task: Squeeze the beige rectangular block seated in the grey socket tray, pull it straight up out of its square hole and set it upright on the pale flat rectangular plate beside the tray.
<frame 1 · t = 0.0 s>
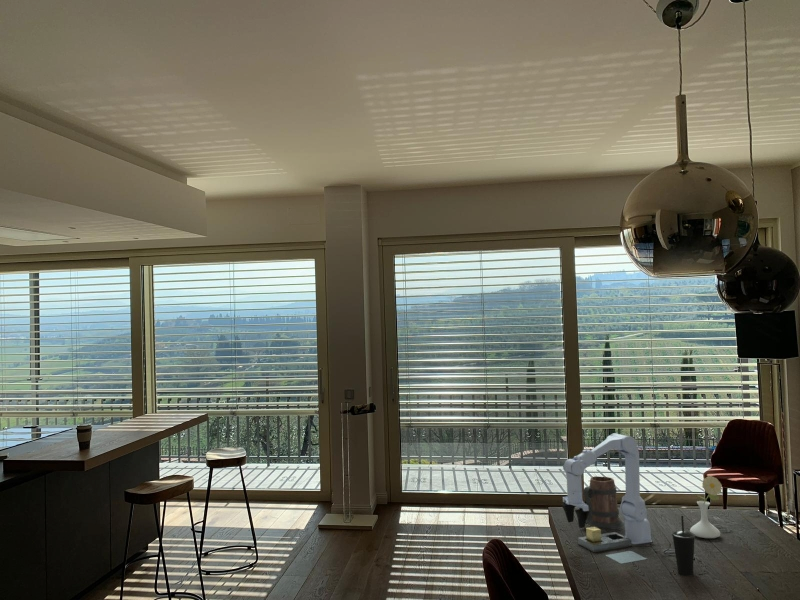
hand: (576, 524, 232), 10 cm above the table, tool pointing down, fingers open, 7 cm apart
tankard: (599, 525, 262), on the table
pale flat rectangular plate: (626, 558, 222), on the table
grey socket tray: (604, 546, 235), on the table
beige rectangular block: (594, 546, 234), resting on grey socket tray
flower in vase: (707, 536, 243), on the table
drinking cup: (685, 573, 207), on the table
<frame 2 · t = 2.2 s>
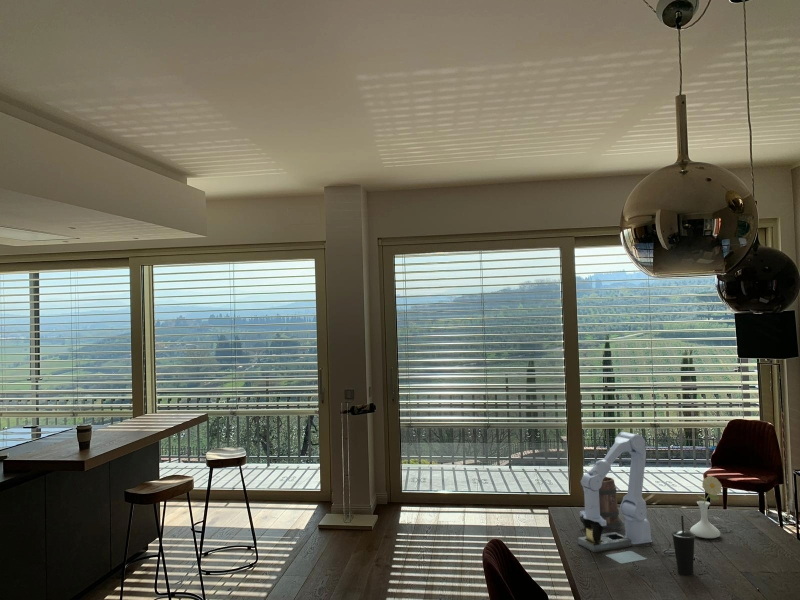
hand: (593, 539, 234), 3 cm above the table, tool pointing down, fingers closed on beige rectangular block, 4 cm apart
beige rectangular block: (594, 546, 234), resting on grey socket tray, touching gripper
everything else where it was.
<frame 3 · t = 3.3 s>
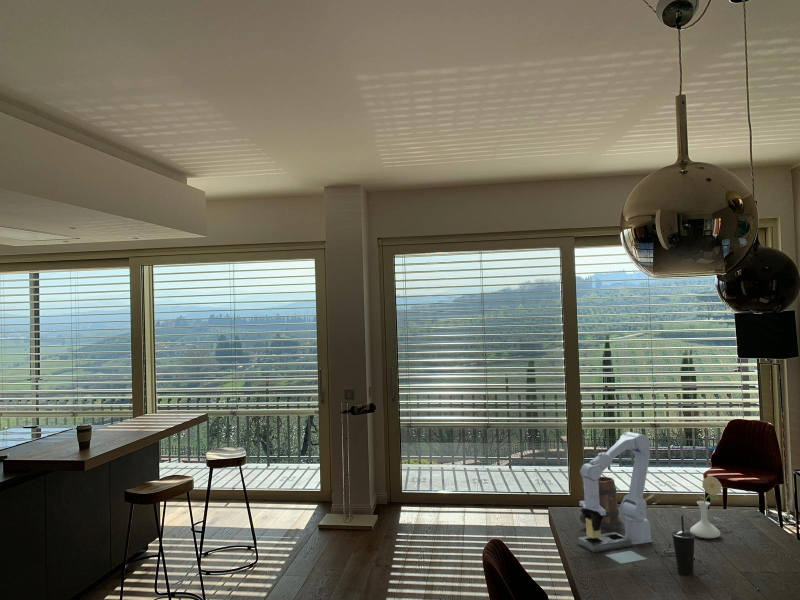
hand: (593, 528, 234), 8 cm above the table, tool pointing down, fingers closed on beige rectangular block, 4 cm apart
beige rectangular block: (593, 536, 234), point 5 cm above the table, touching gripper
everything else where it was.
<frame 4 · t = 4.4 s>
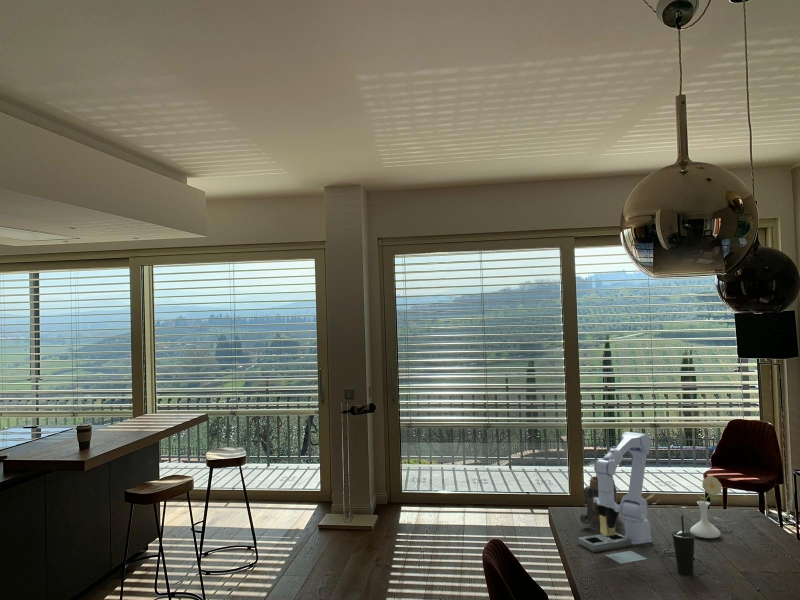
hand: (607, 525, 228), 10 cm above the table, tool pointing down, fingers closed on beige rectangular block, 4 cm apart
beige rectangular block: (607, 533, 228), point 7 cm above the table, touching gripper
everything else where it was.
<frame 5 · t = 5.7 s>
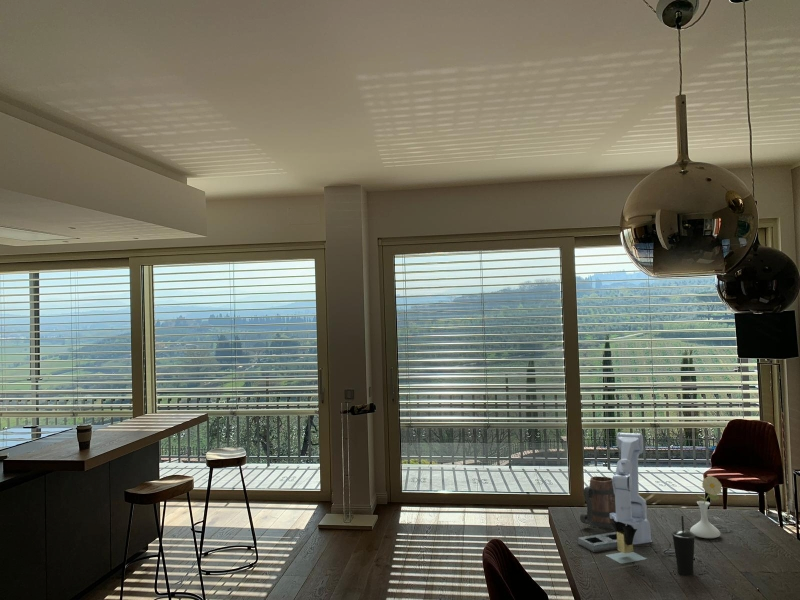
hand: (625, 542, 222), 6 cm above the table, tool pointing down, fingers closed on beige rectangular block, 4 cm apart
beige rectangular block: (625, 551, 222), point 3 cm above the table, touching gripper
everything else where it was.
when the fingers open (5 cm above the table, at t = 6.8 s): beige rectangular block drops 1 cm, resting on pale flat rectangular plate.
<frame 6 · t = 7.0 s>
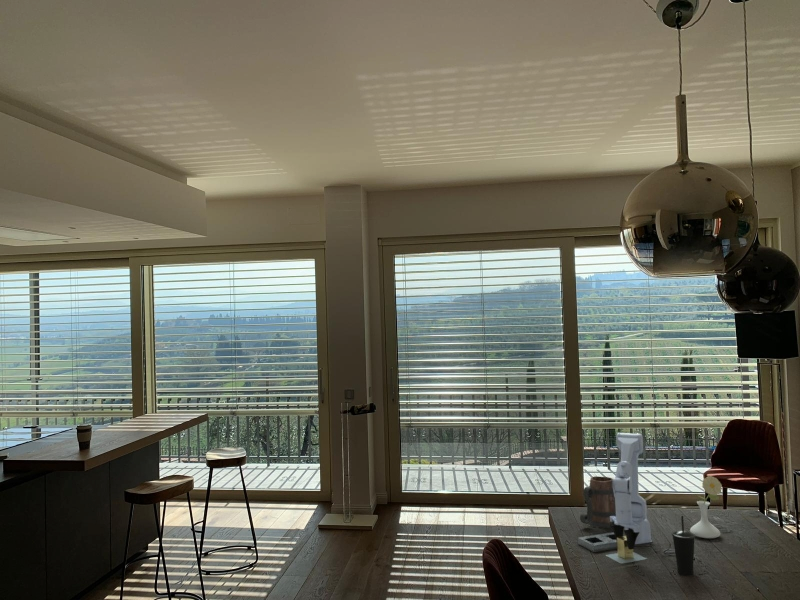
hand: (625, 545, 222), 5 cm above the table, tool pointing down, fingers open, 6 cm apart
beige rectangular block: (625, 556, 222), point 1 cm above the table, touching pale flat rectangular plate
everything else where it was.
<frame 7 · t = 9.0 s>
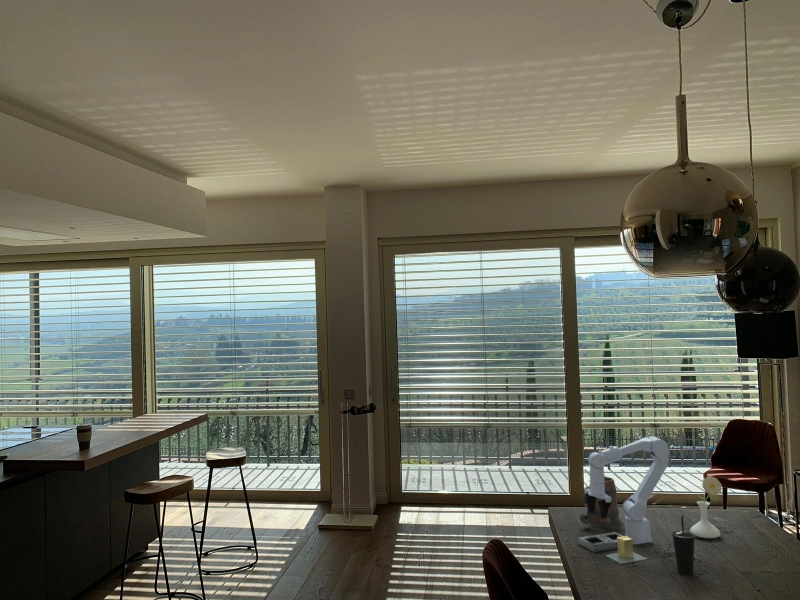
hand: (597, 515, 242), 10 cm above the table, tool pointing down, fingers open, 7 cm apart
nothing on the table moved.
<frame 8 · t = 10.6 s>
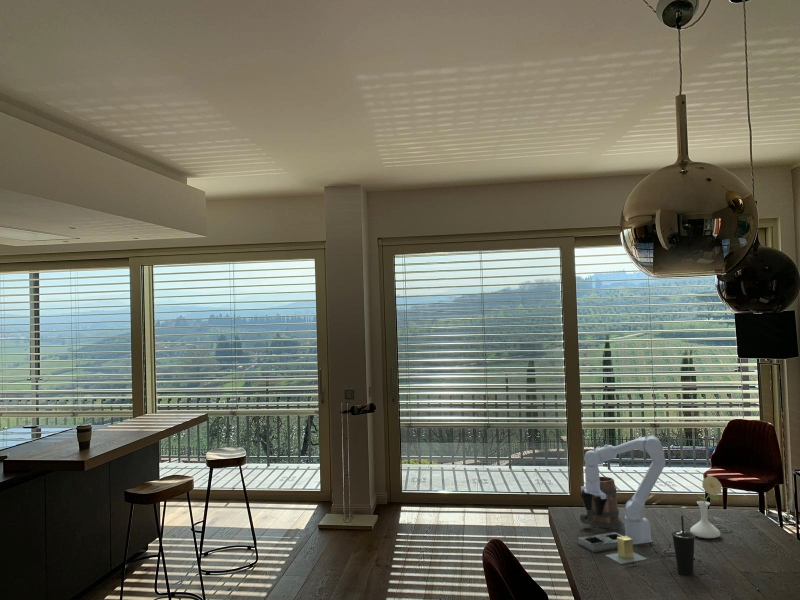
hand: (594, 512, 246), 10 cm above the table, tool pointing down, fingers open, 7 cm apart
nothing on the table moved.
at the end: beige rectangular block inside the target area on the pale flat rectangular plate (0.1 cm from its centre), point 0.6 cm above the pale flat rectangular plate's base; beige rectangular block tilted 0°; the gripper is holding nothing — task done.
